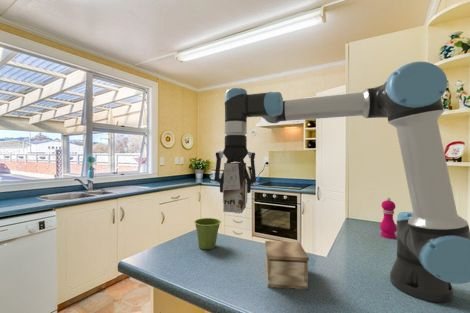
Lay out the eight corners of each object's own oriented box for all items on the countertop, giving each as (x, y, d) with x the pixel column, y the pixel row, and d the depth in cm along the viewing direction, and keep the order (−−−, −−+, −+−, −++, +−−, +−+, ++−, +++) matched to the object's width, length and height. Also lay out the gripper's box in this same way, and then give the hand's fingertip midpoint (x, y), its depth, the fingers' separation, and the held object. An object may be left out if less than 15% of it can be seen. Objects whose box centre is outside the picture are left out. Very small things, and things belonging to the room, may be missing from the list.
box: (298, 267, 83) (299, 245, 83) (307, 289, 69) (307, 263, 69) (265, 265, 84) (265, 243, 84) (267, 287, 70) (267, 261, 70)
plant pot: (214, 253, 94) (214, 226, 94) (188, 249, 98) (189, 223, 98) (224, 243, 105) (224, 219, 105) (201, 240, 109) (201, 216, 109)
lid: (299, 245, 83) (299, 242, 83) (308, 261, 69) (308, 257, 69) (265, 243, 84) (265, 240, 84) (267, 259, 70) (267, 255, 70)
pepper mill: (380, 233, 122) (380, 195, 122) (396, 236, 118) (397, 197, 118) (379, 237, 116) (379, 197, 116) (396, 240, 112) (397, 199, 112)
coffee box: (242, 213, 73) (242, 162, 73) (222, 212, 74) (223, 162, 74) (246, 207, 82) (246, 162, 82) (229, 206, 83) (229, 162, 83)
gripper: (264, 136, 81) (263, 200, 81) (209, 136, 83) (209, 199, 83) (265, 133, 74) (264, 205, 73) (205, 134, 75) (204, 203, 75)
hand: (235, 202), depth 78 cm, fingers closed on coffee box, 7 cm apart
